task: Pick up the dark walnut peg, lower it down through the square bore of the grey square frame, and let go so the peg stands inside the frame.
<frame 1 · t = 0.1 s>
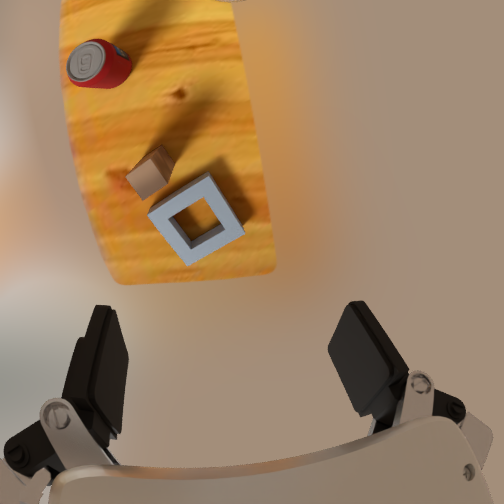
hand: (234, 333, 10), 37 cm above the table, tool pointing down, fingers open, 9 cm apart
grey square frame: (196, 217, 47), on the table
walnut peg: (158, 161, 41), on the table
beverage can: (113, 69, 31), on the table
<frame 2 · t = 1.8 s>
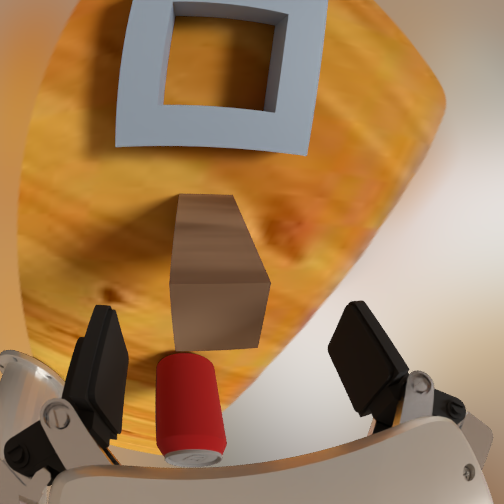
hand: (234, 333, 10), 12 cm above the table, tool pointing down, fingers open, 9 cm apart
grey square frame: (219, 60, 15), on the table
walnut peg: (204, 219, 21), on the table
beverage can: (185, 364, 29), on the table
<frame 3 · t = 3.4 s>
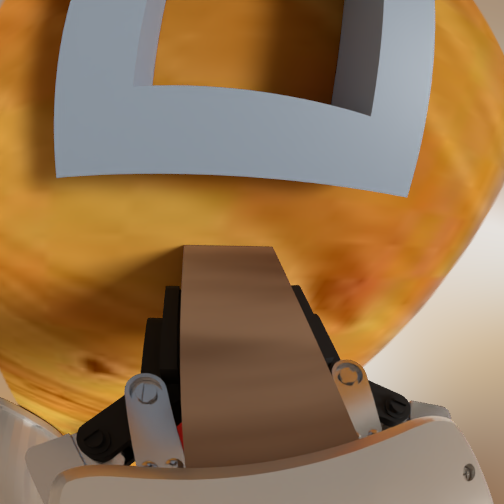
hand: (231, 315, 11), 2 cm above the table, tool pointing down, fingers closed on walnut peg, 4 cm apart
grey square frame: (257, 15, 7), on the table
walnut peg: (225, 282, 13), on the table, touching gripper
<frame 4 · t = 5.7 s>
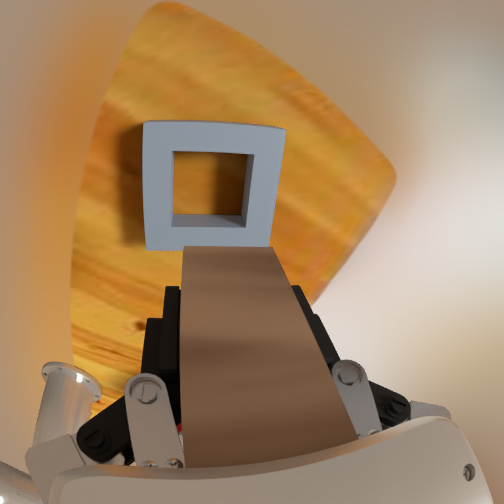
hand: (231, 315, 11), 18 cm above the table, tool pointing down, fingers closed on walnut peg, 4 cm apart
grey square frame: (209, 181, 26), on the table
walnut peg: (225, 282, 13), point 15 cm above the table, touching gripper
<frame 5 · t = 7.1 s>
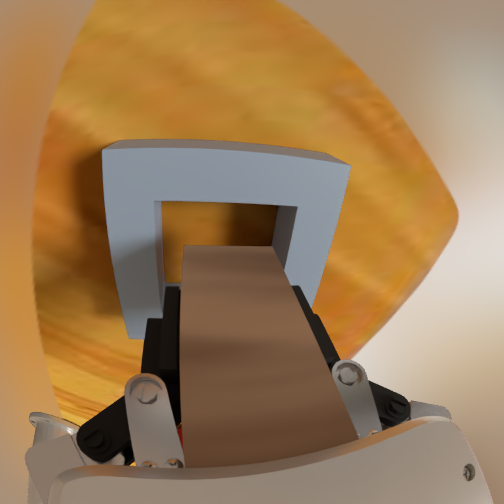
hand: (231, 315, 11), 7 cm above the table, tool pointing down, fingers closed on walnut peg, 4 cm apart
grey square frame: (218, 238, 17), on the table
walnut peg: (225, 282, 13), point 5 cm above the table, touching gripper
when the fingers open (4 cm above the table, at t = 8.0 s): walnut peg drops 1 cm, resting in grey square frame.
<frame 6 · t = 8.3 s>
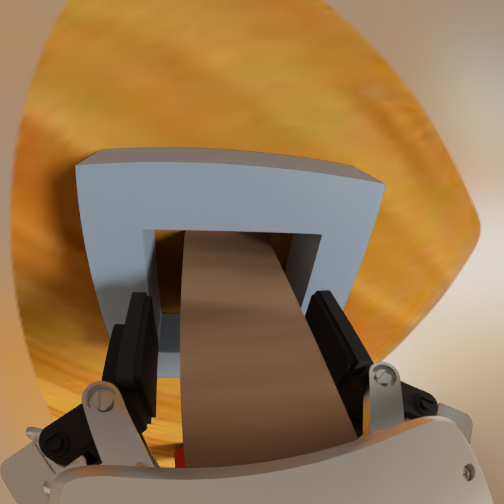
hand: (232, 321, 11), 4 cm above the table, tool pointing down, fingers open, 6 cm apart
grey square frame: (222, 265, 14), on the table
walnut peg: (222, 265, 14), resting in grey square frame
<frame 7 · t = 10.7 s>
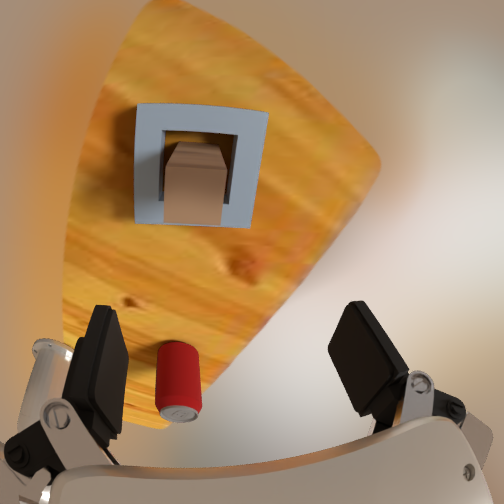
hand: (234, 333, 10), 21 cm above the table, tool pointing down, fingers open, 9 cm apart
grey square frame: (196, 161, 27), on the table
walnut peg: (196, 161, 27), resting in grey square frame
beverage can: (178, 350, 42), on the table
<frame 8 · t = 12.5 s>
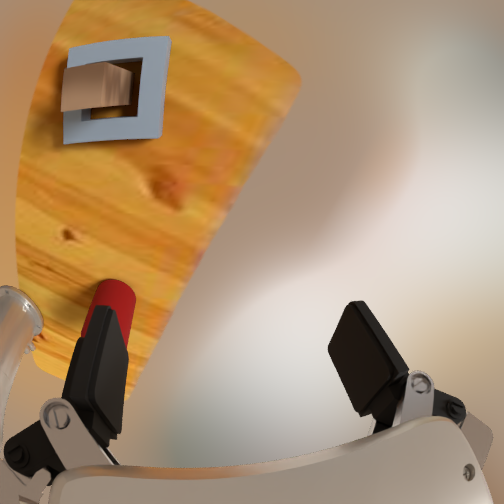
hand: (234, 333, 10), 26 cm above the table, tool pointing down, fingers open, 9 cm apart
grey square frame: (117, 89, 25), on the table
walnut peg: (117, 89, 25), resting in grey square frame
beverage can: (117, 292, 40), on the table
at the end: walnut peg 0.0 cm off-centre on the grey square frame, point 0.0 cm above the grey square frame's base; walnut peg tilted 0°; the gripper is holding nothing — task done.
